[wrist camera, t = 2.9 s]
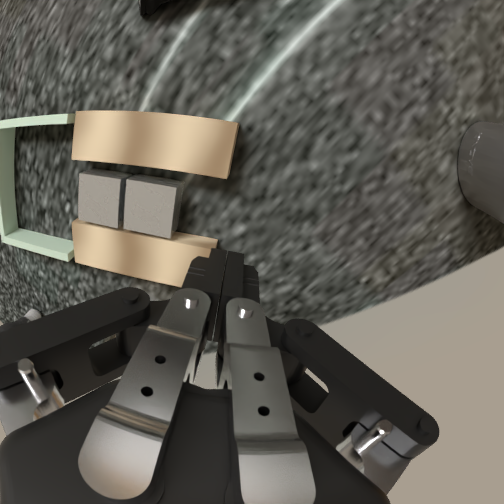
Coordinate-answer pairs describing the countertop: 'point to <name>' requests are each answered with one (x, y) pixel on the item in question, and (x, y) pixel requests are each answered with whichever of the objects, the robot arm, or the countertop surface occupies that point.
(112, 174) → the metal chip
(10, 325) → the light bulb
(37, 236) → the box
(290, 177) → the countertop surface
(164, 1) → the electric trimmer
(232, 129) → the slot rails
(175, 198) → the metal chip
